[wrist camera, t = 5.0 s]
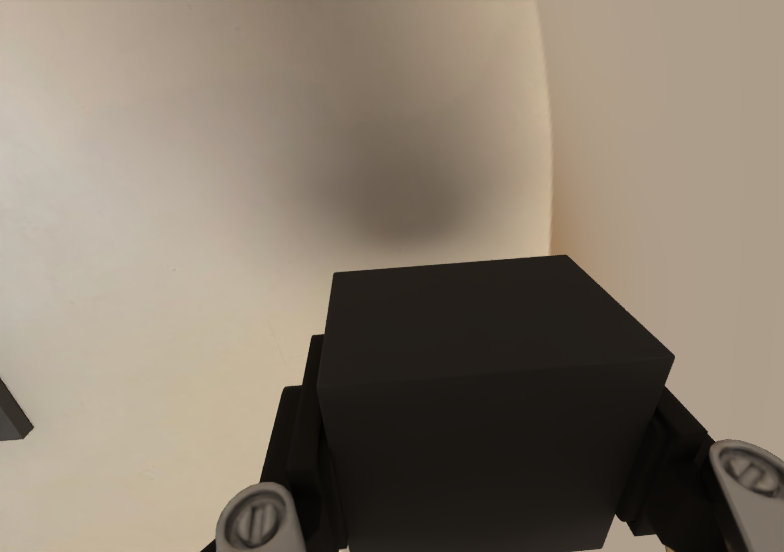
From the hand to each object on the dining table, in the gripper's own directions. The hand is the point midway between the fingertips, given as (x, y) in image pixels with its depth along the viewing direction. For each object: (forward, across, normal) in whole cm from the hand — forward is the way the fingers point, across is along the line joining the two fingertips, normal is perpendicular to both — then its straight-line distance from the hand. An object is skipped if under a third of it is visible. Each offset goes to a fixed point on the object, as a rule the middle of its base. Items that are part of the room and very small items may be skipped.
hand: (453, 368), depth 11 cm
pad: (+1, 0, 0) cm, 1 cm away
